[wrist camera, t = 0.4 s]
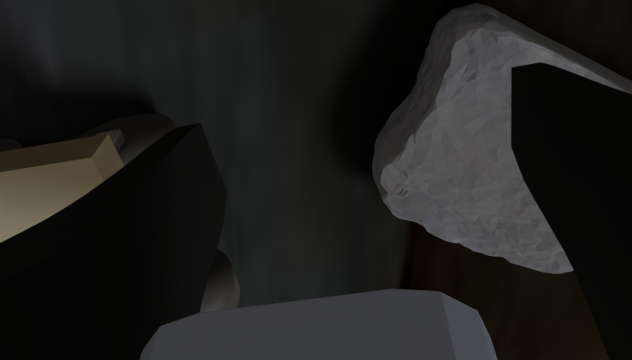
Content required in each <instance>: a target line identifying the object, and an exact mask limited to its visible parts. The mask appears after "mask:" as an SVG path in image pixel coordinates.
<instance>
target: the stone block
mask: <svg viewBox="0 0 632 360" xmlns="http://www.w3.org/2000/svg"><path fill="white" fill-rule="evenodd" d="M539 62H542V63H546V64H550V65H553V66H556V67H559V68H562V69H564V70H567V71H570V72H572V73H575V74H577V75H580V76H583V77H585V78H588V79H591V80H593V81H596V82H599V83H601V84H604V85H607V86H610V87H612V88H615V89H618V90H621V91H624V92H627V93H630V94H632V81H631V80H629V79H627V78H625V77H623V76H621V75H619V74H617V73H615V72H613V71H611V70H609V69H607V68H606V67H604V66H602V65H600V64H598V63H596V62H595V61H593V60H591V59H589V58H587V57H585V56H583V55H581V54H579V53H577V52H575V51H573V50H571V49H570V48H568V47H566V46H564V45H562V44H560V43H557V42H555V41H553V40H552V39H550V38H548V37H546V36H544V35H542V34H540V33H538V32H536V31H534V30H532V29H531V28H529V27H527V26H525V25H523V24H522V23H520V22H518V21H516V20H513V19H511V18H510V17H508V16H507V15H505V14H503V13H501V12H499V11H497V10H495V9H494V8H492V7H490V6H486V5H483V4H479V3H474V4H471V5H467V6H462V7H458V8H454V9H452V10H451V11H449V12H448V13H447V14H446V15H445V16H443V17H442V18H441V19H440V20H439V21H438V22H437V24H436V26H435V28H434V30H433V33H432V35H431V37H430V41H429V45H428V47H427V48H426V52H425V56H424V60H423V62H422V64H421V66H420V69H419V71H418V74H417V82H416V84H415V86H414V88H413V89H412V91H411V93H410V94H409V95H408V97H407V98H406V99H405V100H404V101H403V102H402V103H401V105H400V106H398V107H397V108H396V109H395V110H394V111H393V112H392V114H391V116H390V117H389V119H388V121H387V123H386V124H385V126H384V127H383V129H382V130H381V131H380V132H379V134H378V136H377V138H376V142H375V145H374V150H375V151H374V157H373V161H372V173H373V179H374V181H375V183H376V185H377V187H378V190H379V192H380V194H381V197H382V200H383V202H384V203H385V204H386V205H387V206H388V208H389V209H390V211H391V212H392V214H393V215H394V216H396V217H398V218H400V219H405V220H410V221H415V222H417V223H419V224H421V225H423V226H424V227H425V229H426V230H427V231H428V232H429V233H431V234H433V235H435V236H437V237H439V238H441V239H443V240H446V241H448V242H453V243H460V244H462V245H463V246H465V247H468V248H470V249H471V250H473V251H476V252H480V253H484V254H486V255H490V256H499V257H503V258H505V259H507V260H508V261H509V263H514V264H518V265H521V266H524V267H528V268H531V269H534V270H538V271H542V272H545V273H547V272H549V273H553V274H560V273H564V272H570V271H573V268H572V266H571V264H570V262H569V260H568V258H567V256H566V254H565V252H564V250H563V248H562V247H561V245H560V243H559V242H558V240H557V238H556V236H555V235H554V233H553V231H552V229H551V228H550V226H549V224H548V222H547V221H546V219H545V217H544V215H543V214H542V212H541V210H540V209H539V207H538V205H537V203H536V201H535V200H534V198H533V196H532V194H531V193H530V191H529V189H528V187H527V185H526V184H525V182H524V180H523V177H522V175H521V172H520V170H519V167H518V164H517V162H516V159H515V156H514V153H513V150H512V148H511V67H516V66H522V65H527V64H533V63H539Z"/></svg>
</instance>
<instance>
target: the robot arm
mask: <svg viewBox="0 0 632 360" xmlns="http://www.w3.org/2000/svg"><path fill="white" fill-rule="evenodd" d="M511 148H512V150H513V153H514V156H515V159H516V162H517V164H518V167H519V170H520V172H521V175H522V177H523V180H524V182H525V184H526V185H527V187H528V189H529V191H530V193H531V194H532V196H533V198H534V200H535V201H536V203H537V205H538V207H539V209H540V210H541V212H542V214H543V215H544V217H545V219H546V221H547V222H548V224H549V226H550V228H551V229H552V231H553V233H554V235H555V236H556V238H557V240H558V242H559V243H560V245H561V247H562V248H563V250H564V252H565V254H566V256H567V258H568V260H569V262H570V264H571V266H572V268H573V270H574V272H575V274H576V277H577V279H578V282H579V284H580V286H581V289H582V291H583V293H584V296H585V298H586V301H587V303H588V305H589V308H590V310H591V313H592V315H593V318H594V321H595V323H596V326H597V328H598V331H599V333H600V336H601V338H602V341H603V343H604V346H605V348H606V351H607V354H608V357H609V359H610V360H632V94H630V93H627V92H624V91H621V90H618V89H615V88H612V87H610V86H607V85H604V84H601V83H599V82H596V81H593V80H591V79H588V78H585V77H583V76H580V75H577V74H575V73H572V72H570V71H567V70H564V69H562V68H559V67H556V66H553V65H550V64H546V63H542V62H539V63H533V64H527V65H522V66H516V67H511ZM226 193H227V191H226V188H225V186H224V183H223V181H222V178H221V175H220V173H219V170H218V168H217V165H216V162H215V160H214V157H213V155H212V152H211V149H210V147H209V144H208V142H207V139H206V136H205V134H204V131H203V128H202V126H201V123H198V124H193V125H187V126H182V127H176V128H175V129H173V130H171V131H169V132H168V133H166V134H165V135H163V136H162V137H161V138H159V139H158V140H157V141H155V142H154V143H153V144H151V145H150V146H149V147H148V148H146V149H145V150H144V151H143V152H141V153H140V154H139V155H137V156H136V157H135V158H134V159H132V160H131V161H130V162H129V163H127V164H126V165H125V166H124V167H122V168H121V169H120V170H118V171H117V172H116V173H114V174H113V175H112V176H110V177H109V178H107V179H106V180H105V181H103V182H102V183H101V184H99V185H98V186H97V187H95V188H94V189H92V190H91V191H90V192H88V193H87V194H85V195H84V196H82V197H81V198H79V199H78V200H76V201H75V202H73V203H72V204H70V205H68V206H67V207H65V208H64V209H62V210H60V211H59V212H57V213H55V214H54V215H52V216H50V217H49V218H47V219H45V220H43V221H41V222H39V223H38V224H36V225H34V226H32V227H30V228H28V229H26V230H24V231H22V232H20V233H18V234H16V235H14V236H12V237H11V238H9V239H7V240H5V241H3V242H1V243H0V360H497V357H496V354H495V351H494V347H493V344H492V341H491V338H490V336H489V334H488V332H487V330H486V328H485V325H484V323H483V321H482V319H481V317H480V315H479V313H478V311H477V310H475V309H473V308H471V307H469V306H467V305H465V304H463V303H461V302H459V301H457V300H455V299H453V298H451V297H449V296H447V295H446V294H444V293H442V292H437V291H423V290H405V289H387V290H379V291H371V292H363V293H355V294H346V295H338V296H330V297H322V298H314V299H306V300H298V301H290V302H282V303H274V304H266V305H258V306H250V307H242V308H234V309H226V310H218V311H210V312H202V313H200V308H201V304H202V299H203V296H204V292H205V289H206V285H207V282H208V278H209V274H210V271H211V267H212V264H213V260H214V257H215V253H216V250H217V246H218V242H219V238H220V235H221V231H222V227H223V221H224V213H225V204H226Z"/></svg>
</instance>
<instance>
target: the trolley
mask: <svg viewBox="0 0 632 360" xmlns="http://www.w3.org/2000/svg"><path fill="white" fill-rule="evenodd" d="M173 129H175V126H174V123H173V122H172V120H171V119H170V118H168V117H167V116H164V115H160V114H137V115H131V116H126V117H122V118H119V119H115V120H112V121H109V122H107V123H104V124H101V125H99V126H97V127H95V128H92V129H90V130H88V131H87V132H85V133H83V134H81V135H80V136H78V137H76V138H75V139H73V140H68V141H62V142H56V143H51V144H45V145H39V146H33V147H27V148H23V147H22V146H21V144H20V143H19V142H18V141H17V140H14V139H9V138H1V139H0V243H1V242H3V241H5V240H7V239H9V238H11V237H12V236H14V235H16V234H18V233H20V232H22V231H24V230H26V229H28V228H30V227H32V226H34V225H36V224H38V223H39V222H41V221H43V220H45V219H47V218H49V217H50V216H52V215H54V214H55V213H57V212H59V211H60V210H62V209H64V208H65V207H67V206H68V205H70V204H72V203H73V202H75V201H76V200H78V199H79V198H81V197H82V196H84V195H85V194H87V193H88V192H90V191H91V190H92V189H94V188H95V187H97V186H98V185H99V184H101V183H102V182H103V181H105V180H106V179H107V178H109V177H110V176H112V175H113V174H114V173H116V172H117V171H118V170H120V169H121V168H122V167H124V166H125V165H126V164H127V163H129V162H130V161H131V160H132V159H134V158H135V157H136V156H137V155H139V154H140V153H141V152H143V151H144V150H145V149H146V148H148V147H149V146H150V145H151V144H153V143H154V142H155V141H157V140H158V139H159V138H161V137H162V136H163V135H165V134H166V133H168V132H169V131H171V130H173ZM239 298H240V287H239V284H238V281H237V279H236V276H235V274H234V271H233V269H232V267H231V264H230V262H229V260H228V258H227V257H226V255H225V254H224V253H222V252H221V251H219V250H216V253H215V257H214V260H213V264H212V267H211V271H210V274H209V278H208V282H207V285H206V289H205V292H204V296H203V299H202V304H201V308H200V313H202V312H210V311H218V310H226V309H234V308H236V307H237V305H238V302H239Z"/></svg>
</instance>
